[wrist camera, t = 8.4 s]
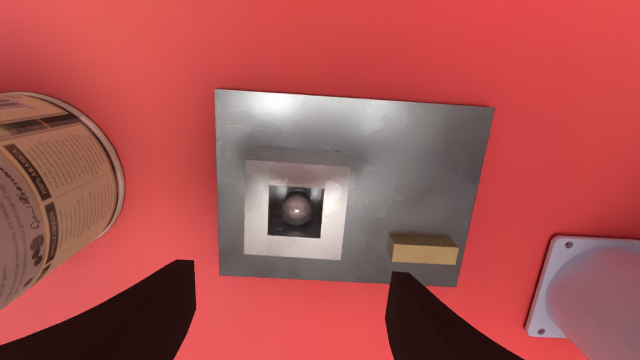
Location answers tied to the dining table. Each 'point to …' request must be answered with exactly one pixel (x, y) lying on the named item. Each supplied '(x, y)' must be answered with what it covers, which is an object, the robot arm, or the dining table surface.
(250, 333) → the dining table surface
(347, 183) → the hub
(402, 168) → the shaft block
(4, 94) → the coffee can
